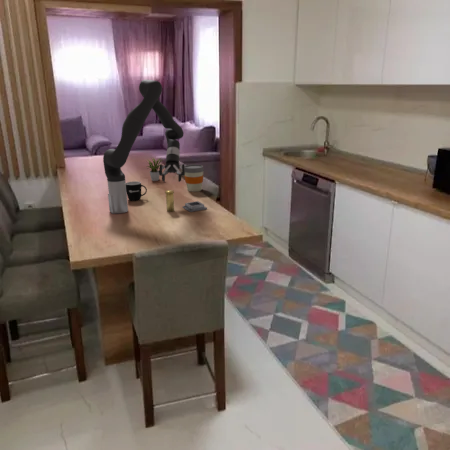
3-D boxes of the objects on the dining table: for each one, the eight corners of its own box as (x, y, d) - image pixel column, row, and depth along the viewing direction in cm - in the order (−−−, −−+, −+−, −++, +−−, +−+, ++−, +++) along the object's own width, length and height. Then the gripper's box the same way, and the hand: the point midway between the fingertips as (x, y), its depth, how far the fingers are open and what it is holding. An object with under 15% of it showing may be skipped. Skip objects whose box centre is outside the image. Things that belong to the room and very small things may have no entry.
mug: (127, 202, 252) (125, 185, 248) (126, 198, 260) (125, 181, 257) (148, 200, 254) (146, 183, 251) (146, 196, 263) (145, 180, 259)
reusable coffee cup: (201, 192, 271) (200, 168, 266) (182, 191, 273) (181, 168, 268) (206, 187, 282) (205, 164, 277) (187, 187, 285) (186, 164, 280)
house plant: (169, 177, 312) (167, 155, 307) (164, 182, 299) (163, 158, 294) (149, 177, 313) (148, 155, 308) (144, 182, 300) (142, 158, 295)
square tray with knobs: (190, 212, 231) (190, 207, 231) (182, 207, 240) (182, 203, 239) (207, 209, 236) (206, 204, 235) (198, 204, 244) (198, 200, 243)
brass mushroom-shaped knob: (168, 212, 231) (167, 192, 228) (165, 210, 235) (163, 190, 232) (176, 211, 234) (175, 191, 230) (172, 209, 237) (171, 189, 234)
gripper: (159, 153, 243) (157, 177, 236) (184, 152, 243) (183, 177, 236) (161, 160, 250) (159, 185, 243) (186, 160, 250) (185, 184, 243)
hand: (171, 181), depth 239 cm, fingers open, 8 cm apart
